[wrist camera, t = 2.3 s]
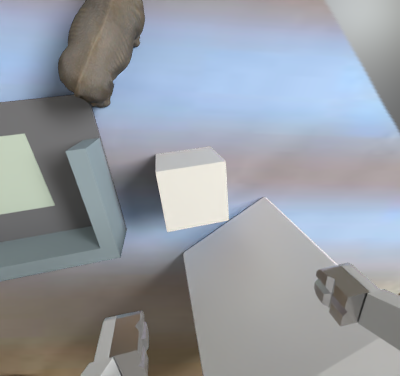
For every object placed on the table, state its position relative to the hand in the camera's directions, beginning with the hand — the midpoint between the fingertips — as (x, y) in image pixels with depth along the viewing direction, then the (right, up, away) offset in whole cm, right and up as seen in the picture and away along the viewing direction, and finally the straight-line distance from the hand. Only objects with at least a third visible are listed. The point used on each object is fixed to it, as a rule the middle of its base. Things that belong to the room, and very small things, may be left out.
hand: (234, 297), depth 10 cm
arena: (-20, +5, +12) cm, 24 cm away
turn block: (-3, +6, +15) cm, 17 cm away
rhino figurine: (-8, +19, +9) cm, 22 cm away
